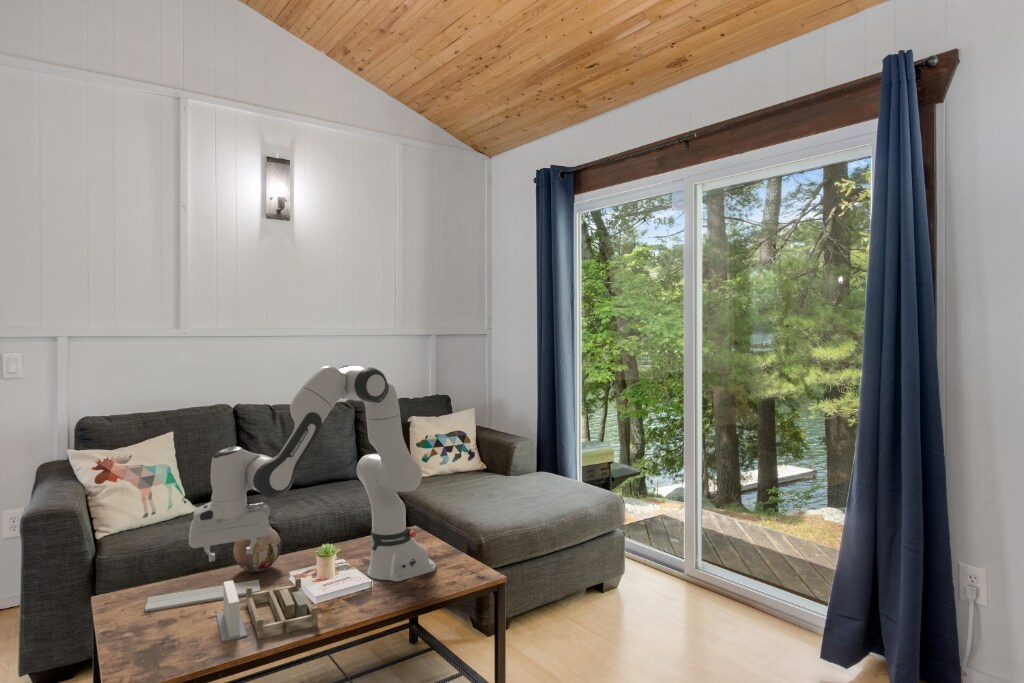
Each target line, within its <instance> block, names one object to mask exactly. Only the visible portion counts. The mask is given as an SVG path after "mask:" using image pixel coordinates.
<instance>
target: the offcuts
mask: <svg viewBox="0 0 1024 683" xmlns="http://www.w3.org/2000/svg"><path fill="white" fill-rule="evenodd" d="M278 600H279V601H278V603H279V605H280V606H281V610H282V611H283V613H284V616H285V619H286V618H287V619H288V618H289V619H290V618H293V617H296V618H298V617H303V616H307V603H306V601H305V599H304V597H303V596H302V594H301V592H300V591H297V592H292V597H291V596H290V594H289V592H288V590H287V589H283V590H279V599H278Z"/></svg>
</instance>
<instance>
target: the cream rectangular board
mask: <svg viewBox="0 0 1024 683" xmlns="http://www.w3.org/2000/svg"><path fill="white" fill-rule="evenodd" d="M234 583H235V582H234V580H233V579H232V580H227V581H223V586H224V599H223V612H224V616H225V620H226V625H227V629H228V633H229V637H233V636H237V635H240V615H239V610H240V599H239V597H238V595H237V592H236V589H235V585H234Z"/></svg>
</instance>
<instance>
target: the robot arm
mask: <svg viewBox="0 0 1024 683" xmlns="http://www.w3.org/2000/svg"><path fill="white" fill-rule="evenodd" d="M340 399H347V400H350V401H355V402H358V401H359V402H363V404H364V407H365V420H366V428H367V429H366V430H367V438H368V442H369V444H370V445H372V447H374V449H375V450H376V452H377V453H369V454H365V455H363V456H362V457H361V458H360V459H359V461H358V462H357V464H356V470H355V471H356V476H357V478H358V479H359V481H360V482H361V483H362V484H363V486H364V488H365V490H366V493H367V494H366V495H367V496H368V500H369V503H370V509H371V531H370V549H371V551H370V552H371V553H370V560H369V566H368V570H367V575H368V576H369V577H370V578H372V579H374V580H375V579H376V580H381V581H391V582H397V583H398V582H402V581H406V580H408V579H411V578H414V577H418V576H422V575H424V574H429V573H431V572H434V571H436V569H437V568H436V563H435V562H434V561H433V560H432V559H431V558H429V554H428V553H429V552H428V551H427V549H426V548H425V546H424V545H422V544H421V543H419V542H418V541H416V540H415V539H413V538H415V537H416V536H417V532H416V531H415V530H413V529H410V528H409V527H407V525H406V524H407V520H406V518H407V516H406V515H407V512H406V511H407V510H406V508H407V507H406V504H405V503H404V501H403V500H402V499H401V498H400V496H399V495H398V492H399V493H401V492H403V493H404V492H412V491H414V490H416V489H417V488H418V487H419V485H420V483H421V481H422V478H423V471H422V468H421V465H420V464H419V463H418V462H417V461H416V460H415V459H414V458H413V456H412V455H411V453H410V451H409V448H408V446H407V444H406V442H405V441H406V440H405V439H404V438H405V437H404V435H403V426H402V418H401V411H400V410H401V409H400V403H399V399H398V395H397V392H396V389H395V386H394V385H393V384H391V383H390V382H388V381H387V378H386V376H385V374H384V373H383V372H382V371H381V370H379V369H377V368H375V367H370V366H365V365H342V366H340V367H338V368H336V367H334V366H330V365H325V366H322V367H320V368H319V369H318V370H317V371H316V372H314V374H312V376H310V378H309V379H308V380H306V382H305V383H304V384H303V385H302V387H301V388H300V389H299V391H297V393H296V394H295V396H294V397H293V399H292V401H291V402H290V405H289V411H290V412H289V413H290V416H291V418H292V420H293V422H294V423H293V424H294V428H293V431H292V433H291V435H290V436H289V438H288V440H287V441H286V442H285V444H284V446H283V448H282V449H281V450H280V452H279V453H278V454H277V455H276V456H274V457H271V456H270V455H269V456H268V455H265V454H262V453H261V454H260V453H254V452H252V451H249V450H246V449H243V448H242V447H240V446H229V447H225V448H222V449H220V450H218V451H216V452H215V453H214V454H213V456H212V458H211V463H210V486H211V488H212V494H211V498H210V502H207V503H205V504H203V505H202V504H201V505H200V506H198V507H196V508H194V510H193V519H192V521H191V522H190V525H189V526H190V527H189V536H188V542H189V543H188V545H189V547H191V548H192V549H198V548H203V550H204V552H205V553H206V555H208V561H209V563H211V562H215V561H216V553H215V552H211V551H210V550H211V546H216V545H223V544H228V543H233V542H234V543H235V541H240V540H246V539H250V540H251V544H250V546H249V547H246V550H247V551H246V554H247V555H250V554H253V547H254V545H255V543H256V542H257V538H258V537H264V536H267V535H268V534H269V533H270V522H269V521H270V520H269V516H270V515H271V508H270V506H269V504H267V503H265V502H259V503H251V504H248V500H247V499H248V498H247V492H248V491H251V490H254V491H256V492H258V493H260V495H262V496H263V497H267V498H271V499H272V498H275V499H276V498H279V497H281V496H283V495H284V494H286V493H288V491H289V490H290V489H291V488H292V486H293V483H294V481H295V477H296V474H297V471H298V469H299V467H300V465H301V463H302V461H303V460H304V458H305V456H306V454H307V453H308V451H309V450H310V448H311V446H313V443H314V442H315V440H316V438H317V437H318V435H319V433H320V431H321V429H322V426H323V423H324V421H325V420H326V418H327V417H328V415H329V414H330V412H331V411H332V409H333V408H334V407H335V406H336V404H337V403H338V401H339V400H340Z"/></svg>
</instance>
